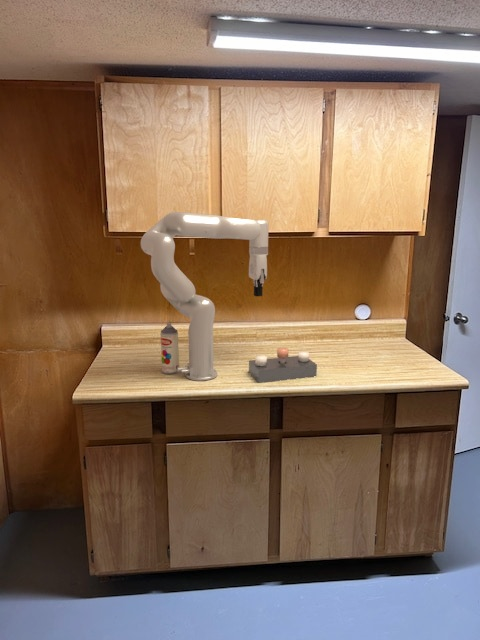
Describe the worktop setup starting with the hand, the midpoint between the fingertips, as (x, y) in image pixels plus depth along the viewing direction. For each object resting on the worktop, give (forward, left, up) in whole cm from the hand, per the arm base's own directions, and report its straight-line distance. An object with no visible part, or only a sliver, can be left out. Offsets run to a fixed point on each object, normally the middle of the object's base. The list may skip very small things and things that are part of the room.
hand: (258, 295), depth 190 cm
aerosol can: (-37, 0, -29) cm, 47 cm away
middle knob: (+5, -16, -27) cm, 31 cm away
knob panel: (+5, -16, -29) cm, 34 cm away
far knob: (+14, -16, -29) cm, 36 cm away
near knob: (-4, -16, -29) cm, 33 cm away
